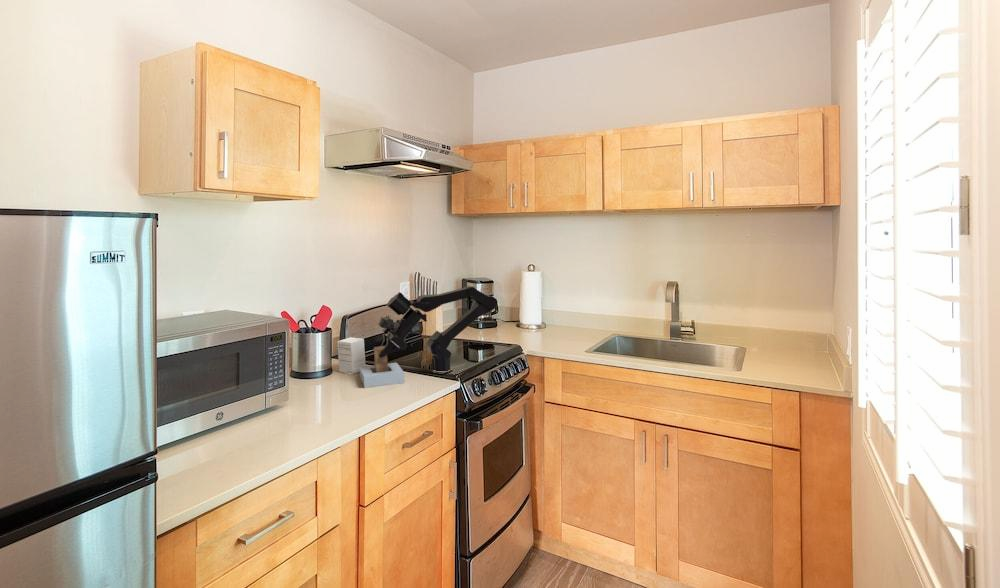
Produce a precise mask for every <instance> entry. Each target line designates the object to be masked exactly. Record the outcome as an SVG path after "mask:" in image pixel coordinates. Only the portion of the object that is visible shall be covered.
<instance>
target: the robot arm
mask: <svg viewBox="0 0 1000 588" xmlns="http://www.w3.org/2000/svg"><path fill="white" fill-rule="evenodd" d="M467 298H470V299H472V300H473V301H474V303H473V305H472V306H471V308H470V309H469V310H468V311H466V312H465V313H464V314H463V315H461V316H460V317H459V318H458V319H457V320H455V322H453V323H452V324H451V325H449V326H448V327H447V328H446V329H445V330H444V331H441V332H440V331H439V330H436V331H434V333H433V334H432V335H430V336H428V339H427V341H426V348H427V350H429V352H431V354H432V357H431V370H432V369H433V370H436V371H448V370H450V369H451V356H452V352H451V351H450V350H449V349H448V347H449V346H450V345H451V342H452V341H453V339H455V338H456V337H457V336H458V335H459V334H460V333H462V332H463V331H464V330H465V329H467V328H468V326H470V325H472V323H473V322H474V321H476V320H477V319H479V317H481V316H484V315H486V314H489V313H490V312H491V311H494V310H495V309H496V307H497V299H496V298H495V297H494V296H492V295H488V294H485V293H483V292H482V291H480V290H479V289H477V288H476V287H474V286H470V285H467V286H465V287H462V288H458V289H454V290H450V291H447V292H442V293H437V294H434V293H433V294H421V295H419V296H417V298H414V299H410V300H409V299H408V298H407V297H405V296H404V294H403V293H401V292H400V291H399V292H397V293H396V294H395V295H394V296H393V297H391V298H390V299H389V300H388V302H387V303H386V306H387V307H388V308H389V309H390V310H392V311H393V313H395V314H397V315H398V316H401V315H402V317H401V318H400V319H397V320H396V321H394V319H391V318H390V317H388V318H387V317H382V316H381V317H380V320H379V322H378V324H377V326H379V327H380V328H382V332H383V333H382V337H383V341H382V343H381V345H380V346H385V347H384V349H383V350H382V352H381V353H380V355H379V357H381V358H382V357H384V356H386V355H387V356H388V355H390V354H392V353H395V352H397V351H400V350H402V351H405V350H406V349H407V348H408V343H407V341H406V338H407V336H408V335H409V334H412V333H413V329H414V328H415V327H416V326H417V325H418V324H419V322H420V321H421V320H422V321H424V322H425V323H426V322H427V321H428V319H427V316H428V315H427V314H426V313H429V312H432V311H434V310H436V309H438V308H439V307H441V306H442V305H445V304H448V303H453V302H457V301H460V300H465V299H467ZM413 308H414V309H415V310H414V309H413ZM418 309H419V310H418ZM422 312H423V313H422Z"/></svg>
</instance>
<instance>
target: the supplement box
mask: <svg viewBox="0 0 1000 588" xmlns="http://www.w3.org/2000/svg"><path fill="white" fill-rule="evenodd" d="M336 345H337V354H338V355H337V356H338V369H339V371H338V372H339V373H342V372H344V373H343V374H348V373H351V374H350V375H355V374H357V373H359V367H363V366H366V351H365V338H359V337H347V338H344V339H341V340H337V344H336ZM354 373H355V374H354Z"/></svg>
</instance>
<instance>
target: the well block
mask: <svg viewBox="0 0 1000 588" xmlns="http://www.w3.org/2000/svg"><path fill="white" fill-rule="evenodd" d="M387 363H388V362H387ZM358 373H359V379H360V381H361V384H362V385H364V386H363V387H364V389H368V388H367V387H370V388H376V387H383V386H384V387H385V386H391V385H398V384H405V372H404V370H403V368H402V367H401V366H400V365H399V364H398V363H397V362H391V363H390V362H389V363H388V371H386V372H378V373H375V364H373V365H365V366H363V367H359V372H358Z"/></svg>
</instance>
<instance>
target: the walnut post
mask: <svg viewBox="0 0 1000 588" xmlns="http://www.w3.org/2000/svg"><path fill="white" fill-rule="evenodd" d="M384 347H385V346H381V345H380V346H374V347H373V355H374V356H373V357H374V365H375V373H378V372H386V371H388V355H386V356H384V357H382V358H381V357H379V355H380V353H381V352H382V350H383V349H384Z"/></svg>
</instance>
